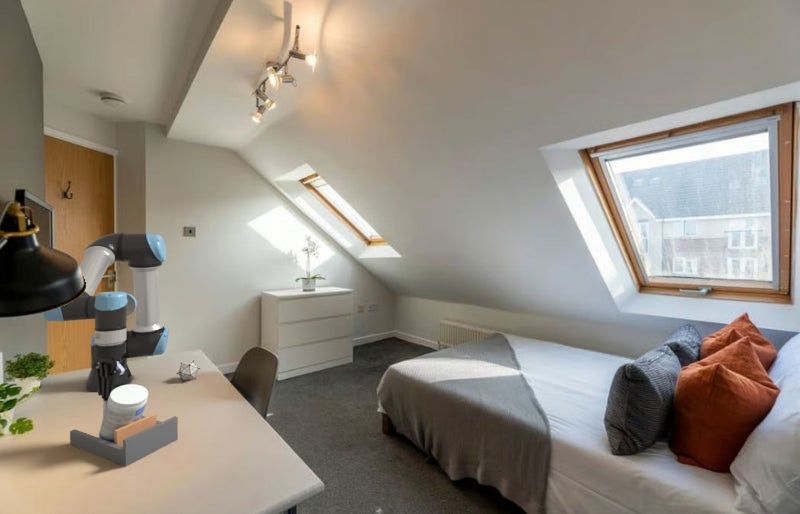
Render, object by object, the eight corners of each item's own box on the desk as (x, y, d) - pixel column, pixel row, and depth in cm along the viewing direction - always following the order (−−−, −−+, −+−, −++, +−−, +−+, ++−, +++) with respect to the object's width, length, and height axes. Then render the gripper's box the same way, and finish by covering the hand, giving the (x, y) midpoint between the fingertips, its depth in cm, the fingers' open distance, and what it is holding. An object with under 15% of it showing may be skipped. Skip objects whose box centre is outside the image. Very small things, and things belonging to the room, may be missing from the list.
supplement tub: (135, 445, 105) (148, 404, 102) (95, 449, 99) (106, 405, 97) (138, 422, 113) (150, 383, 110) (101, 424, 107) (112, 383, 104)
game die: (182, 389, 153) (167, 372, 152) (198, 376, 161) (183, 359, 159) (193, 383, 149) (177, 365, 148) (208, 369, 157) (193, 352, 155)
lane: (70, 444, 104) (69, 421, 103) (123, 422, 117) (123, 401, 117) (125, 466, 94) (125, 440, 94) (177, 439, 107) (177, 416, 107)
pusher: (114, 454, 99) (114, 430, 98) (153, 435, 109) (153, 413, 108) (123, 458, 97) (123, 433, 97) (162, 438, 107) (162, 416, 107)
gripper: (83, 342, 106) (82, 420, 106) (109, 348, 101) (107, 429, 101) (112, 337, 112) (110, 410, 113) (137, 342, 108) (135, 418, 108)
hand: (109, 419), depth 107 cm, fingers closed
